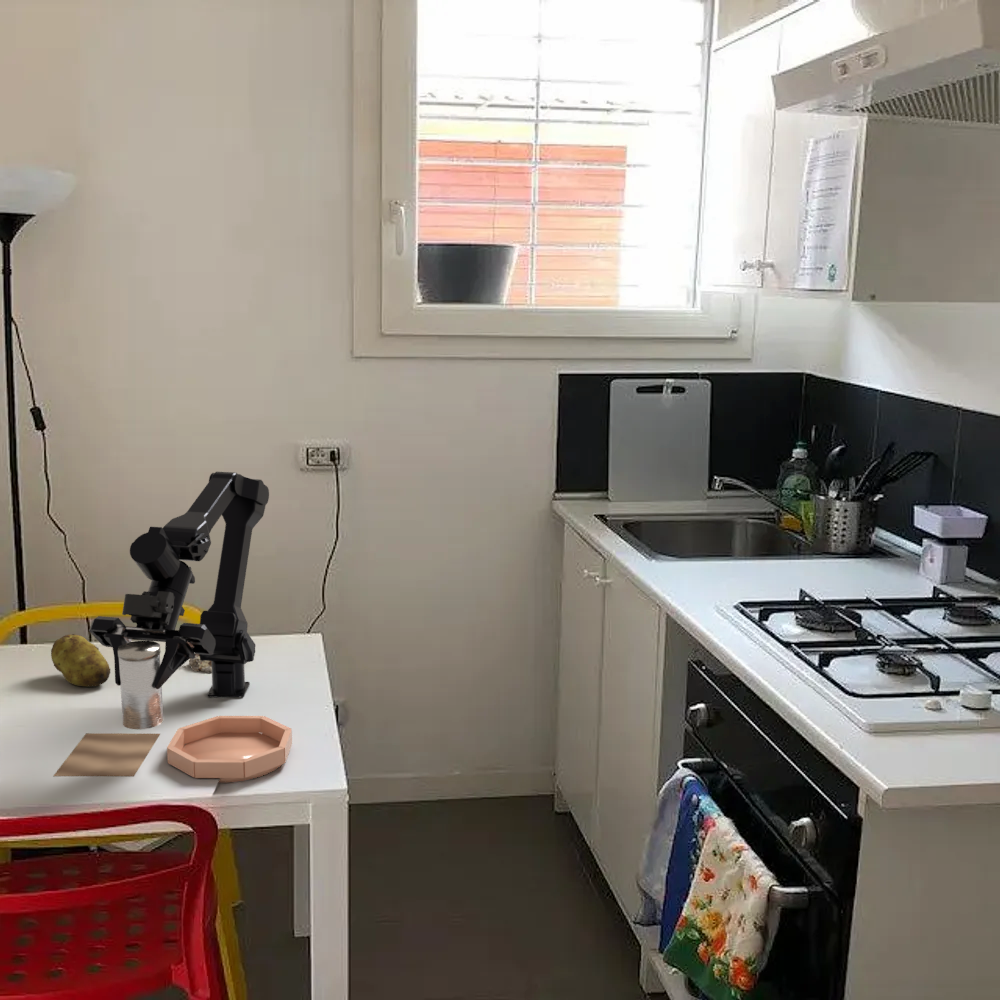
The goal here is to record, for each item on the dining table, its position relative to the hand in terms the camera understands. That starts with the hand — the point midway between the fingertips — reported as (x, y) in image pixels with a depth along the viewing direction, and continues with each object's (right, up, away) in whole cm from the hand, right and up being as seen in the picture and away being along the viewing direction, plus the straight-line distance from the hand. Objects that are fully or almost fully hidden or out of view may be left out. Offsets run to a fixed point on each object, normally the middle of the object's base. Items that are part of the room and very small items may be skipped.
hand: (136, 686), depth 185 cm
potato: (-22, -5, +39) cm, 45 cm away
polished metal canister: (0, -6, +3) cm, 6 cm away
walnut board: (-6, -12, +6) cm, 15 cm away
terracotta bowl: (+13, -12, +6) cm, 19 cm away
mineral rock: (+1, -4, +48) cm, 48 cm away
